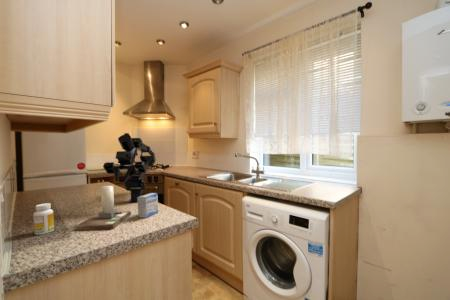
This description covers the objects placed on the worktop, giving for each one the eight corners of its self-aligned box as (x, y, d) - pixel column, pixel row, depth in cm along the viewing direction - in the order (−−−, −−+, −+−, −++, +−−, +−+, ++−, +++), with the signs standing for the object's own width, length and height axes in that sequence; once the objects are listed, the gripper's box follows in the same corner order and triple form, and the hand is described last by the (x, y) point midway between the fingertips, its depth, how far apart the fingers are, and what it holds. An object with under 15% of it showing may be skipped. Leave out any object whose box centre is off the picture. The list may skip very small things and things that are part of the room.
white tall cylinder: (105, 214, 89) (104, 185, 88) (124, 213, 89) (123, 185, 89) (98, 218, 84) (97, 188, 83) (118, 217, 84) (117, 187, 84)
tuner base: (100, 215, 92) (100, 211, 92) (130, 214, 93) (130, 210, 93) (75, 230, 76) (75, 225, 76) (112, 229, 77) (112, 224, 77)
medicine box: (146, 218, 88) (145, 197, 87) (137, 217, 89) (137, 196, 89) (158, 212, 95) (157, 193, 95) (150, 211, 96) (149, 192, 96)
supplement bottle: (52, 227, 80) (50, 201, 79) (55, 231, 76) (54, 204, 76) (32, 232, 75) (31, 205, 75) (36, 236, 72) (34, 207, 72)
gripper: (104, 145, 102) (91, 171, 91) (143, 144, 103) (135, 170, 92) (112, 161, 110) (102, 186, 100) (149, 160, 111) (142, 185, 100)
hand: (120, 181), depth 98 cm, fingers open, 3 cm apart
